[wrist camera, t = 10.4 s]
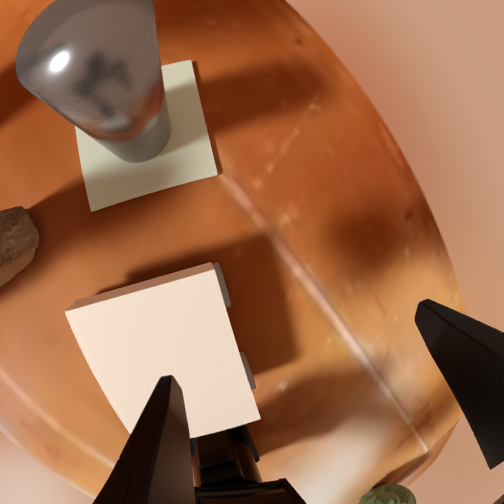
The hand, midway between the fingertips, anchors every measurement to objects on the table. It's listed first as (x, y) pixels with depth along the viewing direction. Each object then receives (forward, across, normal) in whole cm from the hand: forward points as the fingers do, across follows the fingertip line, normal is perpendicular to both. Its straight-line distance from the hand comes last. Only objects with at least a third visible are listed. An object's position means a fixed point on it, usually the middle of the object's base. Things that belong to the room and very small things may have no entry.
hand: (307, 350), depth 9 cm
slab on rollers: (+9, +8, +7) cm, 14 cm away
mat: (+14, +6, -7) cm, 17 cm away
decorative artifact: (-1, -10, +45) cm, 46 cm away
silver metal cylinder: (+14, +6, -7) cm, 17 cm away
